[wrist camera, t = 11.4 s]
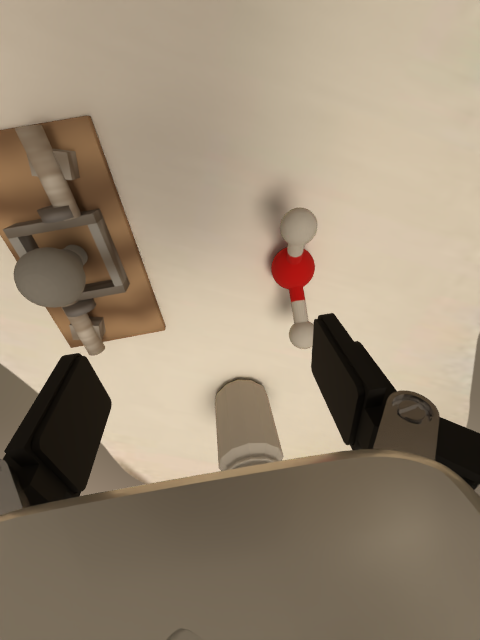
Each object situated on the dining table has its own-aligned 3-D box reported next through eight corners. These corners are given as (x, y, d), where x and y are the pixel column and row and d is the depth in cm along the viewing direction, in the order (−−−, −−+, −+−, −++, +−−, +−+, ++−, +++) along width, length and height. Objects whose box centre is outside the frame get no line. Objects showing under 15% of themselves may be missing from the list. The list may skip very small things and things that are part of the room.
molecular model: (249, 203, 34) (266, 224, 26) (296, 187, 34) (327, 204, 26) (278, 316, 44) (296, 358, 36) (314, 305, 44) (341, 345, 35)
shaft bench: (-52, 140, 27) (-97, 140, 23) (90, 116, 28) (70, 112, 24) (73, 343, 42) (59, 366, 38) (165, 326, 42) (161, 347, 38)
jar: (246, 367, 49) (267, 468, 34) (275, 395, 54) (304, 494, 39) (203, 394, 51) (205, 499, 36) (235, 418, 56) (248, 520, 41)
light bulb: (40, 255, 34) (-13, 294, 25) (65, 217, 32) (16, 246, 23) (88, 285, 36) (54, 329, 28) (113, 252, 34) (85, 288, 26)
